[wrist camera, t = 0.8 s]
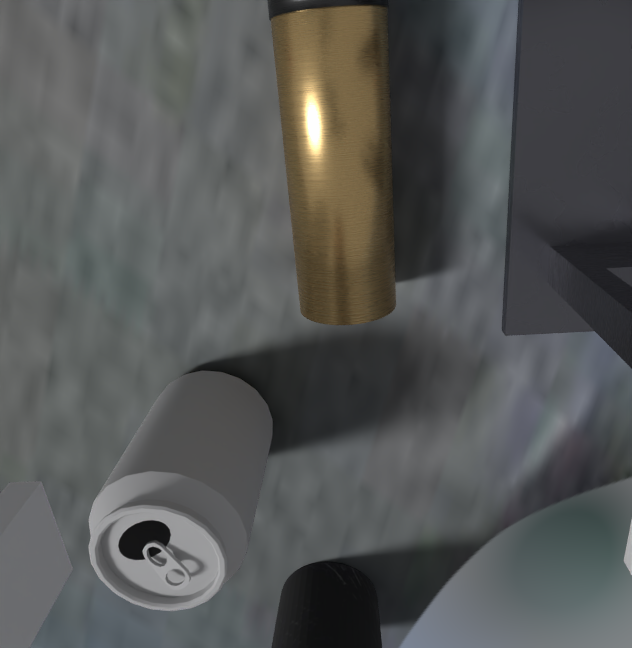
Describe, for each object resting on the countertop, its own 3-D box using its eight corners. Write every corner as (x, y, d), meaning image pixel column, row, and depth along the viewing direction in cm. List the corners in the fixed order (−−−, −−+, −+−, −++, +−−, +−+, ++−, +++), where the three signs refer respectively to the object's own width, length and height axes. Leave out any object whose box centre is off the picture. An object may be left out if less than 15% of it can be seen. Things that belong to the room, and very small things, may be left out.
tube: (264, -145, 24) (235, -198, 19) (383, -162, 23) (382, -222, 19) (306, 290, 32) (292, 327, 27) (396, 287, 31) (397, 323, 27)
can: (214, 340, 33) (147, 467, 22) (299, 422, 35) (276, 575, 24) (134, 409, 36) (37, 555, 25) (218, 482, 38) (163, 648, 27)
